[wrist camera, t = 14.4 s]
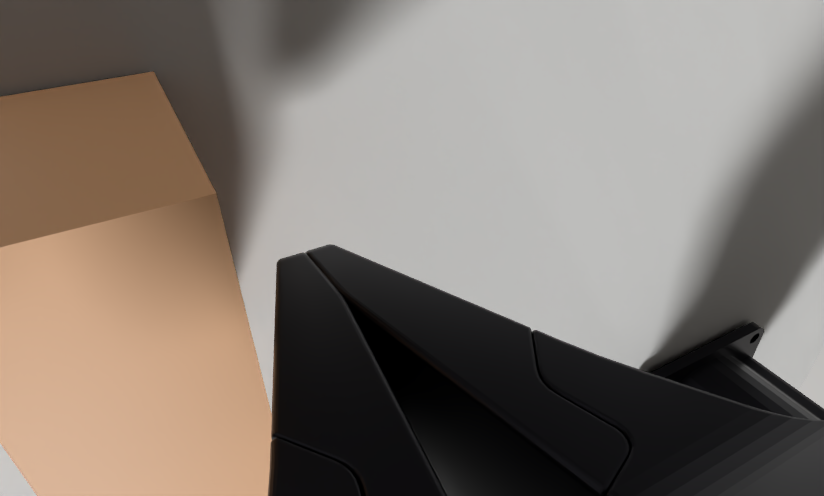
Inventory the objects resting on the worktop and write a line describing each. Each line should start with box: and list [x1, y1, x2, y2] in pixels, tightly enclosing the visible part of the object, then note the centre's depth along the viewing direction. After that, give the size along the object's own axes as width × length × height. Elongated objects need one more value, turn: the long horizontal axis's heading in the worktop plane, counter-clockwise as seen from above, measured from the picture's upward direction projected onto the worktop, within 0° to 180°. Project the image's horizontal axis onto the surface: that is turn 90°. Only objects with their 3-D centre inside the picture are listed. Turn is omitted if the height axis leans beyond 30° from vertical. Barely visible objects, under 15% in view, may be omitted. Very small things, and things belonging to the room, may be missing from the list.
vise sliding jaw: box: [0, 71, 272, 496], centre depth 8 cm, size 2×5×4 cm, turn 1°
